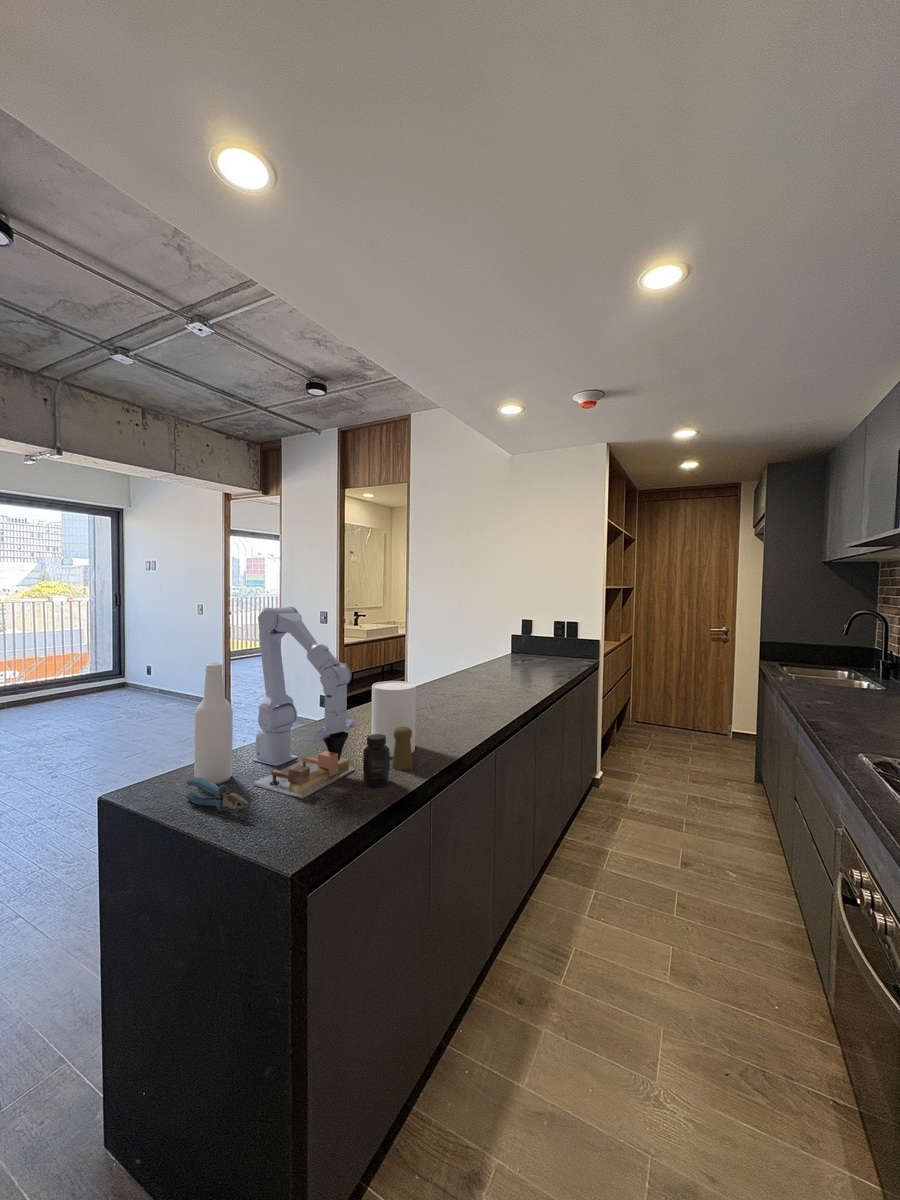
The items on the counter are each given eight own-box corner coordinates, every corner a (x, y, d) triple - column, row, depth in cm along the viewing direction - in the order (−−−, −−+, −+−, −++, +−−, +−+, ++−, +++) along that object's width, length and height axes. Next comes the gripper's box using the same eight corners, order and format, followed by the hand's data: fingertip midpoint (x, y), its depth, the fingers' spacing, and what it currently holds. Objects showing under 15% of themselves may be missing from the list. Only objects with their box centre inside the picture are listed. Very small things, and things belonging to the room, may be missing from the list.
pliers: (250, 818, 106) (251, 791, 105) (242, 822, 104) (242, 795, 104) (193, 797, 115) (193, 772, 115) (184, 801, 113) (184, 775, 113)
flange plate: (253, 785, 123) (253, 781, 123) (308, 760, 141) (308, 757, 141) (302, 798, 116) (302, 794, 116) (353, 770, 134) (354, 767, 134)
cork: (391, 762, 140) (392, 724, 140) (413, 762, 141) (413, 724, 140) (391, 770, 134) (391, 730, 134) (413, 770, 135) (413, 730, 134)
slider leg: (299, 769, 131) (299, 750, 130) (307, 765, 133) (307, 747, 133) (330, 776, 126) (330, 757, 126) (337, 772, 129) (338, 753, 129)
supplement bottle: (393, 779, 128) (394, 734, 127) (382, 789, 121) (382, 742, 121) (370, 775, 130) (371, 731, 130) (357, 785, 124) (358, 738, 123)
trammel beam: (267, 785, 121) (267, 765, 120) (321, 760, 139) (321, 742, 138) (299, 794, 116) (299, 772, 116) (351, 766, 134) (351, 748, 134)
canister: (423, 747, 154) (424, 684, 153) (396, 759, 142) (397, 691, 142) (390, 739, 161) (391, 679, 160) (361, 750, 150) (362, 686, 149)
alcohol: (213, 771, 131) (213, 660, 131) (239, 775, 129) (240, 662, 128) (186, 783, 123) (186, 665, 122) (214, 788, 120) (214, 667, 120)
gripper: (329, 718, 122) (329, 771, 123) (363, 706, 135) (363, 754, 136) (307, 714, 125) (307, 766, 126) (343, 702, 138) (342, 750, 139)
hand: (335, 760), depth 131 cm, fingers closed
